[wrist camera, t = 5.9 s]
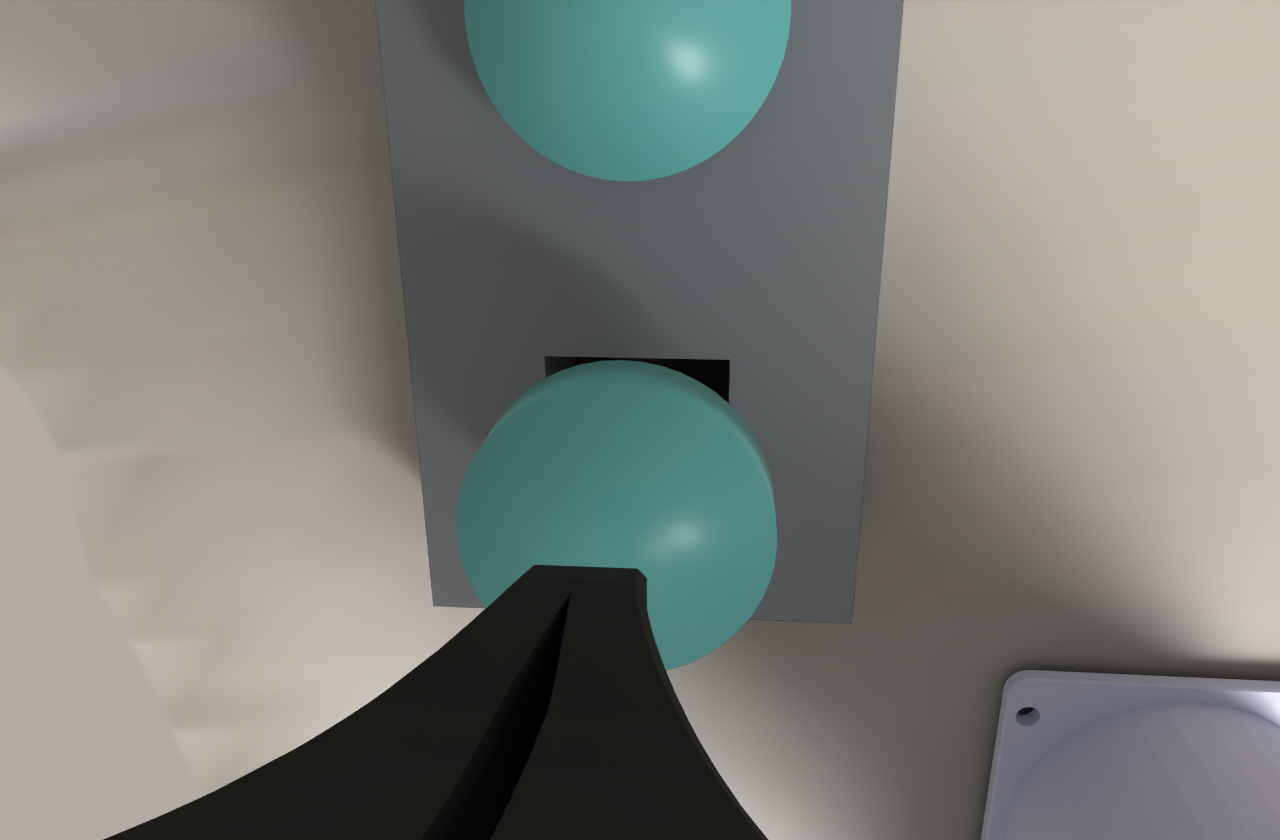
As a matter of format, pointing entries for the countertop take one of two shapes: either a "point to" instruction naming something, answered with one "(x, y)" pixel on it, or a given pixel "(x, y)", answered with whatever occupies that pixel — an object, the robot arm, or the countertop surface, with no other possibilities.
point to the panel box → (654, 273)
